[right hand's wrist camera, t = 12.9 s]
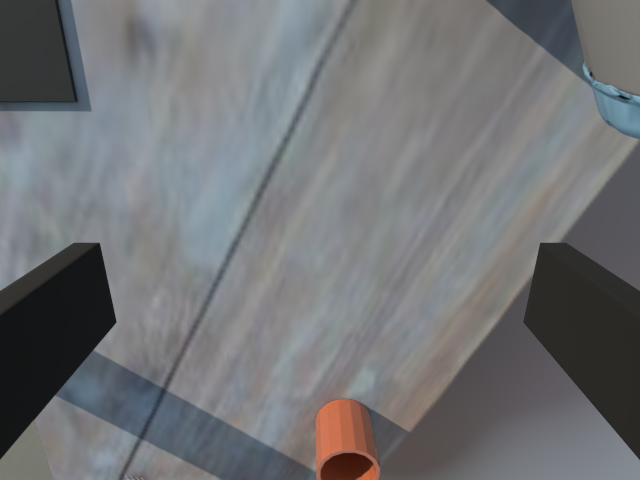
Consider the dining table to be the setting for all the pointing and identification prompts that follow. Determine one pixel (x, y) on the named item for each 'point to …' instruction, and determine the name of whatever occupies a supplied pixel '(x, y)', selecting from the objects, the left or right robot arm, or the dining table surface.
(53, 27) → the dark rubber mat
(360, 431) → the terracotta pot
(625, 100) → the right robot arm
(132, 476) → the fork
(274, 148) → the dining table surface
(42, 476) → the cream beam
